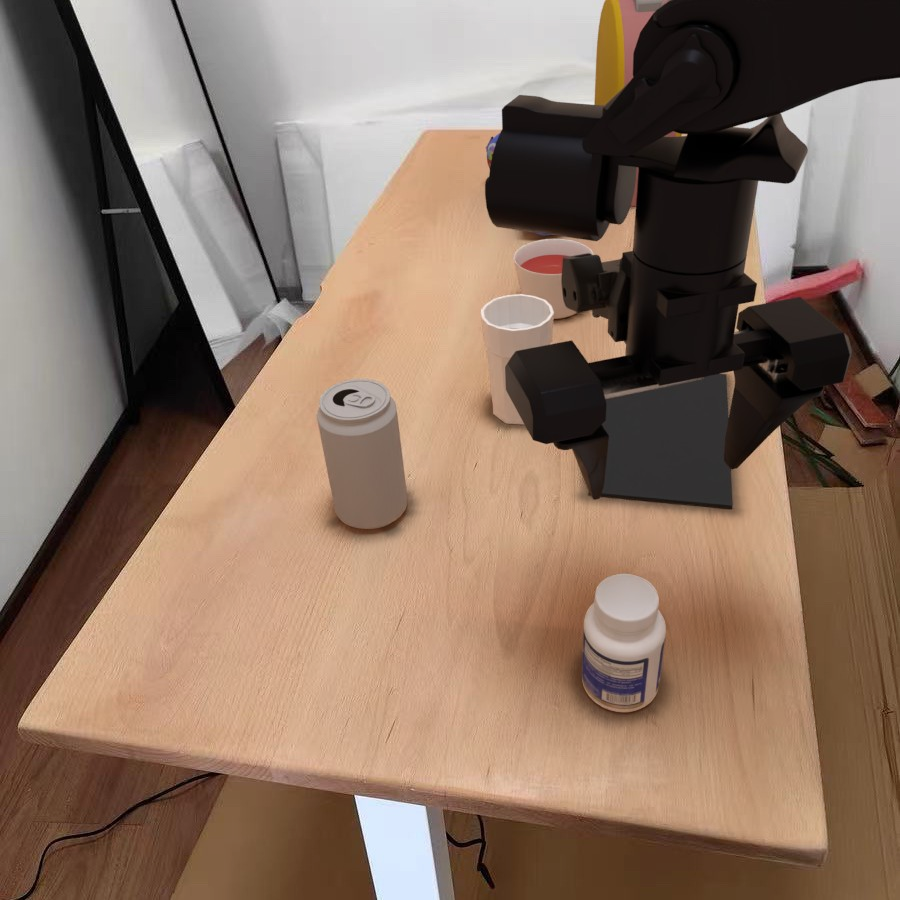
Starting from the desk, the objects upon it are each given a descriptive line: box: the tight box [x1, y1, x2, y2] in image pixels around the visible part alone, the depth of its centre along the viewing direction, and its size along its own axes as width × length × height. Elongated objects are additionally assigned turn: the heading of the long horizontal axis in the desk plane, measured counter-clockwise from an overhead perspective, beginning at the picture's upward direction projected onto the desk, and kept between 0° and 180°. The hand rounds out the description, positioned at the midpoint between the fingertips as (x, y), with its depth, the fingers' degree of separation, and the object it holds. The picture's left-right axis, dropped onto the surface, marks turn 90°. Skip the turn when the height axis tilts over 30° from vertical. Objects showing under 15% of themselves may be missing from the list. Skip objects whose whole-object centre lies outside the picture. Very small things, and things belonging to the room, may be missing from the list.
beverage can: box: [316, 378, 409, 530], centre depth 72 cm, size 6×6×12 cm
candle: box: [513, 238, 595, 320], centre depth 99 cm, size 9×9×6 cm
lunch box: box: [593, 0, 683, 207], centre depth 122 cm, size 21×9×26 cm, turn 0°
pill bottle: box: [581, 573, 667, 713], centre depth 57 cm, size 5×5×9 cm
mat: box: [587, 373, 734, 510], centre depth 81 cm, size 20×12×1 cm, turn 167°
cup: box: [480, 293, 555, 425], centre depth 82 cm, size 7×7×11 cm
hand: (662, 479), depth 54 cm, fingers open, 9 cm apart
